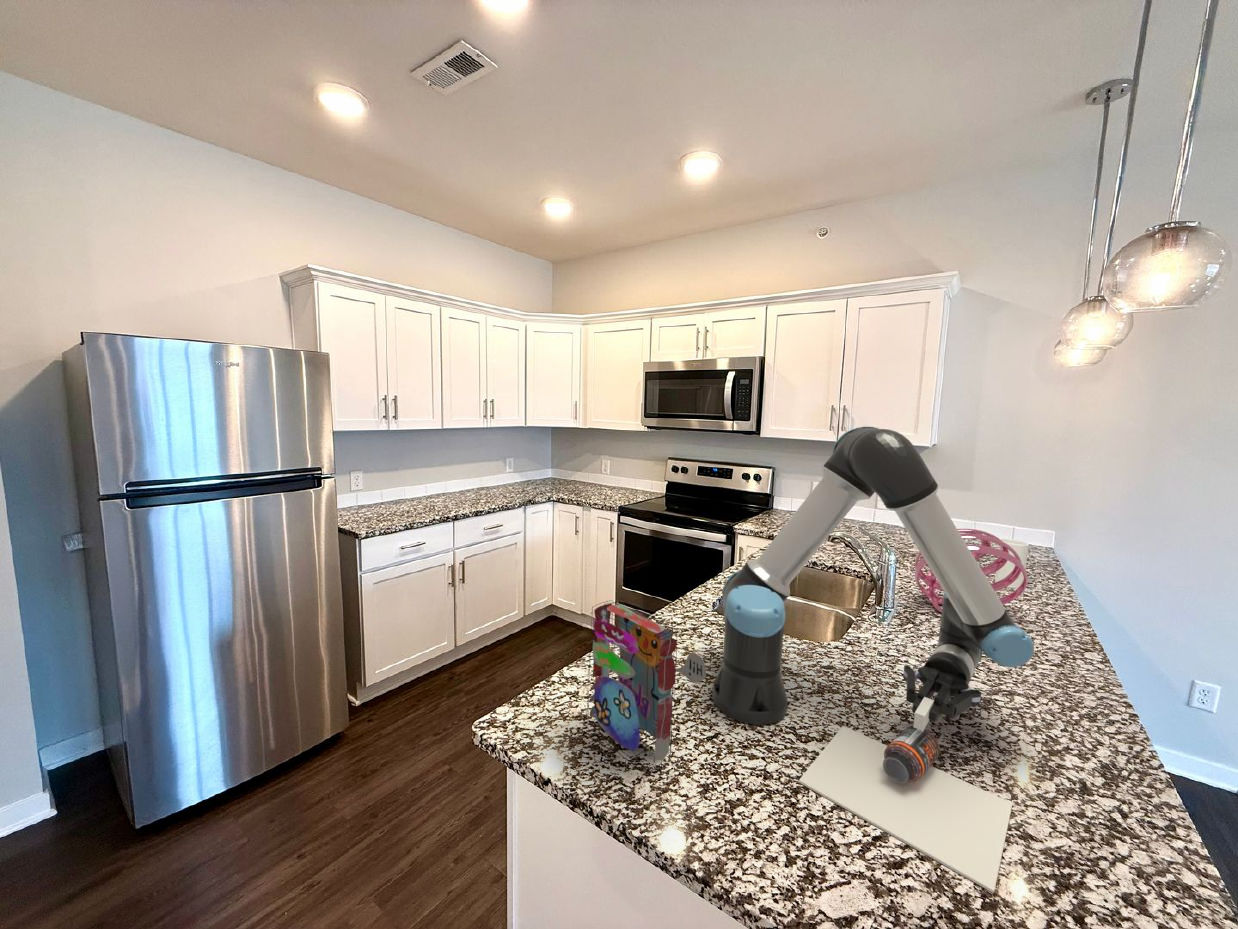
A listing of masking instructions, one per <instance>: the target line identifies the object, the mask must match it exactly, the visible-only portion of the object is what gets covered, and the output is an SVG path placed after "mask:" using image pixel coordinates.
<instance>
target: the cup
mask: <svg viewBox="0 0 1238 929" xmlns="http://www.w3.org/2000/svg"><path fill="white" fill-rule="evenodd" d="M999 539H1000V540H1002V541H1003V542H1005V543H1006V544H1008V545H1009V546H1010V547H1012V548H1013V549H1014V550H1015V551H1016V553H1017V554H1018V555H1019V557H1020V559H1021V562H1022V564H1023V566H1024V567H1025V569H1026V570H1027V562H1028V561H1027V560H1028V555H1029V548H1030V547H1029V546H1030V543H1029V542H1027V541H1025V540H1019V539H1014V538H1013V539H1012V538H999ZM998 549H999V550H1000V546H999V545H998ZM1008 551H1009V554H1011V555H1012V556H1014V555H1013V553H1012V552H1011V551H1010V550H1008ZM1014 557H1015V556H1014ZM1014 567H1015V564H1013V563H1012V562H1010V561H1007V562H1006V564H1005V565H1004V566H1003V567H1002V568H1001V569H999V570H998V571H996V572H995V576H994V583H995V582H998V581H1000V580H1002V579H1004V578H1005V577H1007V576H1008V575H1009V574H1010V573H1011V572H1012V571H1013V569H1014ZM1022 582H1023V573H1022V571H1021V573H1020V575H1019V577H1018V578H1017V579H1016V580H1015V581H1014V582H1013V583H1012V584H1010V585H1009V586H1007V587H1006V588H1011V589H1018V588H1019V586H1020V585H1021V584H1022Z"/></svg>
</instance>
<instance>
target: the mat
mask: <svg viewBox="0 0 1238 929" xmlns="http://www.w3.org/2000/svg"><path fill="white" fill-rule="evenodd" d="M887 746H888V745H886V744H884V743H882V742H880V741H877V740H875V739H873V738H871V737H869V736H867V735H864V734H863V733H861V732H858V731H856V730H854V729H851V728H850V727H847V726H845V725H842V726H841V727H840V729H839V730H838V731H837V733H836V734H835V735H834V736H833V737H832V738H831V740H830V741H829V742H828V743H827V745H826V746H825V747H824V748H823V749H822V751H821V752H820V754H819V755H818V756H817V757H816V758H815V759H814V761H813V762H812V763H811V764H810V766H809V767H808V768H807V769H806V771H805V772H804V773H803V774H802V776H801V777H800V779H798V783H799V784H801V785H803V786H804V787H806V788H808V789H809V790H811V791H813V792H815V793H817V794H818V795H820V796H822V797H824V798H826V799H827V800H829V801H831V802H832V803H834V804H836V805H838V806H839V807H840V808H843V809H845V810H847V811H848V812H850V813H852V814H854V815H855V816H857V817H858V818H860V819H862V820H864V821H866V822H868V823H869V824H871V825H873V826H874V827H876V828H878V829H880V830H882V831H884V832H885V833H886V834H888V835H891V836H892V837H894V838H896V839H897V840H900V841H901V842H902V843H904V844H906V845H907V846H910V847H912V849H914V850H917V851H919V853H922V854H923V855H926V856H928V857H929V858H931V859H932V860H934V861H936V862H938V863H939V864H942V865H943V866H945V867H947V869H950V870H952V871H954V872H956V873H957V874H959V875H961V876H963V877H964V878H966V879H968V880H969V881H971V882H973V883H975V884H976V885H978V886H980V887H982V888H984V889H985V890H987V891H989V892H991V893H992V894H995V891H996V885H997V880H998V876H999V871H1000V866H1001V862H1002V858H1003V857H1002V856H1003V852H1004V847H1005V842H1006V836H1007V832H1008V827H1009V822H1010V818H1011V813H1012V810H1013V809H1012V808H1013V802H1011V801H1008V800H1007V799H1004V798H1002V797H1000V796H998V795H996V794H994V793H991V792H989V791H986V790H985V789H982V788H980V787H978V786H975V785H974V784H971V783H969V782H968V781H965V780H963V779H960V778H959V777H956V776H954V775H952V774H949V773H947V772H946V771H943V770H941V769H939V768H936V767H934V766H932V765H931V767H930V768H929V769H928V770H927V771H926V773H925V774H924V775H923V776H922V777H921V778H920V779H919V780H918V781H915V782H906V783H897V782H895V781H893V780H892V779H891V778H889V776H888V775H887V774H886V772H885V770H884V768H883V761H884V751H885V749H886V747H887Z"/></svg>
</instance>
